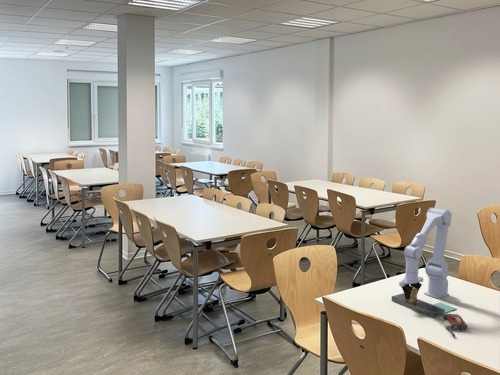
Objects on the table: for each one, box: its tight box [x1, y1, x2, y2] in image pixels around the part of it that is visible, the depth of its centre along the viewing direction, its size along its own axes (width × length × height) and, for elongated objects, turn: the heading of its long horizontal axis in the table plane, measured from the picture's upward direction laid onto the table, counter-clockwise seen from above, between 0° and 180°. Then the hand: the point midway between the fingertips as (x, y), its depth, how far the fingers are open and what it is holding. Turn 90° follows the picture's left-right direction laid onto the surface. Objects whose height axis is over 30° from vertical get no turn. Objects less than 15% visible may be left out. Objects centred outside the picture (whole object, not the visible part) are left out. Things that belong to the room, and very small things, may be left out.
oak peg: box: [404, 287, 418, 303], centre depth 232 cm, size 4×4×8 cm
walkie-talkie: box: [442, 313, 469, 337], centre depth 207 cm, size 9×4×20 cm
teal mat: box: [432, 302, 457, 314], centre depth 228 cm, size 9×9×1 cm
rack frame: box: [391, 292, 446, 319], centre depth 229 cm, size 8×24×2 cm, turn 32°
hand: (410, 298), depth 232 cm, fingers closed on oak peg, 4 cm apart
